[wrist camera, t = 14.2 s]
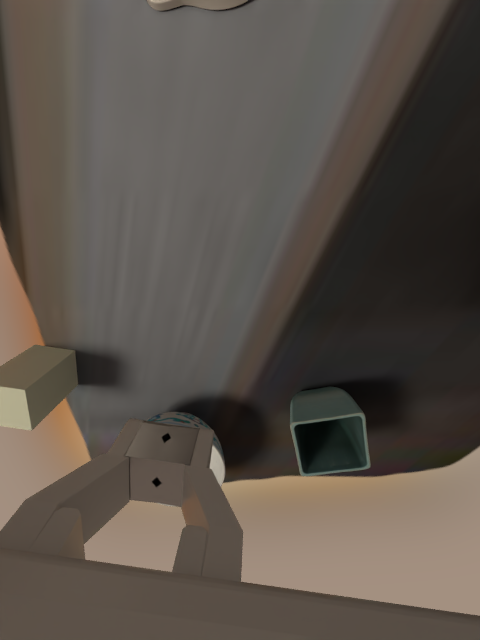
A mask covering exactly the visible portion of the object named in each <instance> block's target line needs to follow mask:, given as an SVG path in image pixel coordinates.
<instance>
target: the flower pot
mask: <svg viewBox="0 0 480 640" xmlns="http://www.w3.org/2000/svg"><path fill="white" fill-rule="evenodd" d="M290 429H291V433H292V437H293V442H294V446H295V451H296V456H297V460H298V465H299V470H300V474H301V475H302V476H314V475H322V474H328V473H337V472H346V471H355V470H364V469H368V468H370V457H369V450H368V440H367V431H366V418H365V414H364V413H363V412H362V410H361V409H360V408H359V406H358V405H357V404H356V402H355V401H354V400H353V398H352V397H351V396H350V395H349V394H348V393H347V392H346V391H344V390H342V389H340V388H337V387H325V388H319V389H313V390H306V391H301V392H299V393H297V394H296V395H295V396H294V397H293V399H292V401H291V406H290Z"/></svg>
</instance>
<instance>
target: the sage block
mask: <svg viewBox="0 0 480 640" xmlns="http://www.w3.org/2000/svg"><path fill="white" fill-rule="evenodd" d="M77 385H78V377H77V366H76V355H75V350H69V349H62V348H54V347H47V346H40V345H34V346H32V347H31V348H29V349H27V350H26V351H24V352H23V353H21V354H19V355H18V356H16V357H14V358H13V359H11V360H10V361H8V362H6V363H5V364H3V365H2V366H0V426H3V427H11V428H18V429H24V430H31V431H32V430H33V429H34V428H35V427H36V426H37V425H38V424H39V423H40V422H41V421H42V420H43V419H44V418H45V417H46V416H47V415H48V414H49V413H50V412H51V411H52V410H53V409H54V408H55V407H56V406H57V405H58V404H59V403H60V402H61V401H62V400H63V399H64V398H65V397H66V396H67V395H68V394H69V393H70V392H71V391H72V390H73V389H74V388H75V387H76V386H77Z"/></svg>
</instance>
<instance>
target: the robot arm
mask: <svg viewBox="0 0 480 640" xmlns="http://www.w3.org/2000/svg"><path fill="white" fill-rule="evenodd" d="M247 1H248V0H147V2H148V3H149V5H150V6H151V7H152V8H153V9H155V10H158V11H164V10H169V9H172V8H176V7H179V6H182V5H190V6H195V7H199V8H204V9H210V10H223V9H229V8H233V7H236V6H238V5H241V4H243V3H245V2H247ZM213 438H214V430H210V429H202V428H193V427H186V426H178V425H170V424H164V423H158V422H152V421H146V420H145V421H144V420H138V419H133V418H130V419H129V420H128V421H127V422H126V424H125V426H124V427H123V429H122V430H121V432H120V434H119V435H118V437H117V439H116V440H115V442H114V444H113V445H112V447H111V449H110V450H109V452H108V453H107V454H101V455H99V456H98V457H96V458H94V459H93V460H91V461H89V462H88V463H86V464H84V465H83V466H81V467H79V468H78V469H76V470H74V471H73V472H71V473H69V474H68V475H66V476H65V477H63V478H61V479H59V480H58V481H56V482H54V483H53V484H51V485H49V486H48V487H46V488H44V489H43V490H41V491H39V492H38V493H36V494H34V495H33V496H31V497H29V498H28V499H26V500H25V501H24V502H23V503H22V505H21V506H20V507H19V509H18V510H17V511H16V513H15V514H14V515H13V516H12V517H11V519H10V520H9V521H8V522H7V524H6V525H5V526H4V527H3V529H2V530H1V531H0V640H480V616H477V615H470V614H463V613H456V612H449V611H442V610H435V609H428V608H421V607H414V606H407V605H399V604H393V603H386V602H379V601H372V600H365V599H358V598H351V597H344V596H337V595H330V594H322V593H315V592H309V591H302V590H294V589H288V588H281V587H274V586H266V585H259V584H253V583H245V582H241V568H242V544H243V530H242V529H241V527H240V524H239V523H238V520H237V519H236V517H235V515H234V513H233V511H232V509H231V507H230V505H229V503H228V501H227V499H226V497H225V495H224V493H223V491H222V489H221V487H220V485H219V483H218V481H217V479H216V477H215V475H214V473H213V471H212V469H210V461H211V454H212V446H213ZM129 500H137V501H145V502H154V503H160V504H166V505H172V506H178V507H182V508H181V509H182V512H183V515H184V519H185V523H186V527H185V528H183V530H182V534H181V538H180V542H179V546H178V550H177V554H176V558H175V563H174V566H173V571H172V572H168V571H161V570H153V569H146V568H139V567H132V566H125V565H118V564H111V563H104V562H97V561H90V560H85V553H84V544H85V543H86V542H87V541H88V540H89V539H90V538H91V537H92V536H93V535H94V534H95V533H96V532H98V531H99V530H100V528H102V527H103V526H104V525H105V524H106V523H107V522H108V521H109V520H110V519H111V518H112V517H114V515H116V514H117V513H118V512H119V511H120V510H121V509H122V508H123V507H124V506H125V505H126V504H127V503H128V502H129Z"/></svg>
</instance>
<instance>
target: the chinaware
mask: <svg viewBox="0 0 480 640" xmlns="http://www.w3.org/2000/svg"><path fill="white" fill-rule="evenodd" d="M146 421H152V422H158V423H164V424H170V425H178V426H186V427H193V428H202V429H210V430H212V429H211V428H210V427H209V426H208V425H207V424H206V423H205V422H204V421H202V420H201V419H199V418H198V417H196V416H194V415H192V414H189V413H185V412H166V413H162V414H158V415H155V416H153V417H151V418H149V419H147V420H146ZM210 469H212V471H213V473H214V475H215V477H216V479H217V481H218V483H219V485H220V487H221V486H222V484H223V481H224V477H225V461H224V455H223V451H222V447H221V445H220V442H219V440H218V438H217V436H216V434H215V433H214V438H213V446H212V454H211V461H210ZM158 504H160V503H158ZM162 505H166V504H162ZM166 506H172V505H166ZM176 507H178V506H176Z"/></svg>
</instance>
